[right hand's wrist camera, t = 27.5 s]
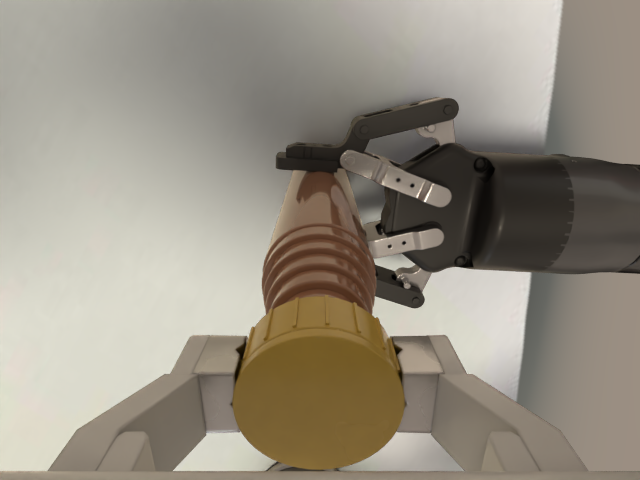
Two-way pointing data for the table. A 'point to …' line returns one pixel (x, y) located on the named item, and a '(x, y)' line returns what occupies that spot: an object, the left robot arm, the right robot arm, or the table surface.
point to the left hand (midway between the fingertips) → (277, 200)
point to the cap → (318, 384)
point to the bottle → (319, 244)
